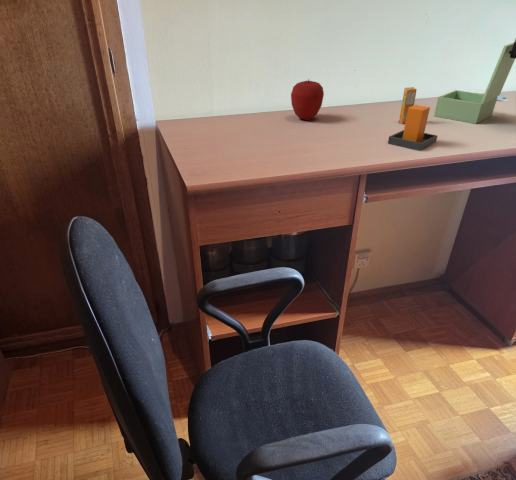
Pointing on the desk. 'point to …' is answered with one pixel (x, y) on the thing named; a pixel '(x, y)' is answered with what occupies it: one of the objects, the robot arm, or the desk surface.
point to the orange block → (415, 123)
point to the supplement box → (407, 102)
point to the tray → (427, 141)
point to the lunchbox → (464, 106)
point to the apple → (307, 99)
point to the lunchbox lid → (499, 74)
